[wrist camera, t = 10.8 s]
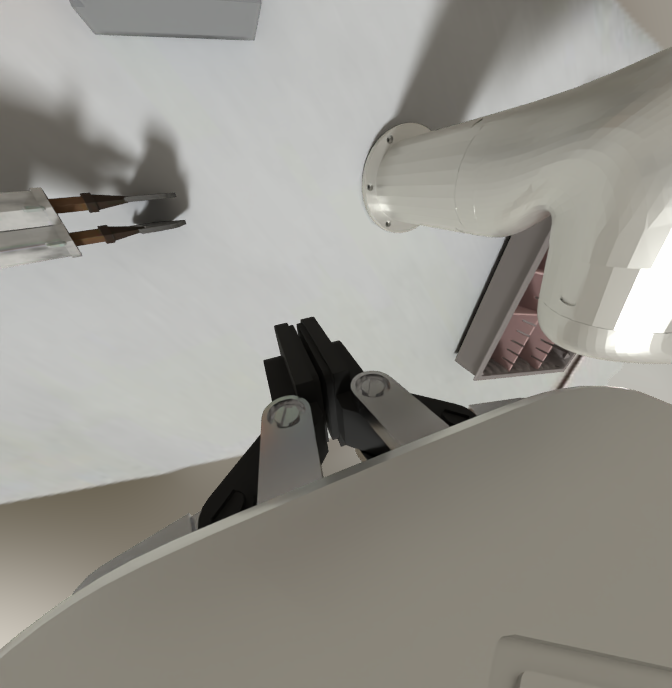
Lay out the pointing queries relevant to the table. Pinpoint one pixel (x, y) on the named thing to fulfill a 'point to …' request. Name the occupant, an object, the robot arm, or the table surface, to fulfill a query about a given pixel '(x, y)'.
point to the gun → (59, 225)
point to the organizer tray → (514, 315)
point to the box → (171, 18)
